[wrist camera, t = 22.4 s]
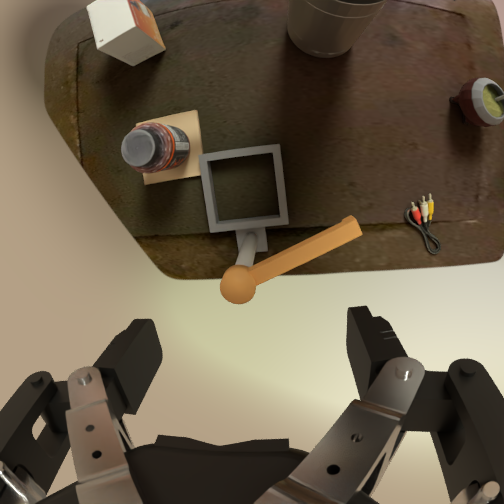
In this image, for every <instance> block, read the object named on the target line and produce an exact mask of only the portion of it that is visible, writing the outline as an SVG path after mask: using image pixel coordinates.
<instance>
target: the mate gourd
mask: <svg viewBox="0 0 504 504" xmlns="http://www.w3.org/2000/svg"><path fill="white" fill-rule="evenodd" d="M450 102H452V103H455V104H458V105H460V108H461V110H462V111H463V123H464V124H468V123H470V124H472V125H476V126H483V127H488V126H494V125H497V124H499V123H500V122H501V121H502V120H503V119H504V92H503V90H502V89H501V88H500V87H499V86H498V85H497V84H496V83H495V82H494V81H492V80H490V79H487V78H472V79H471V80H469V81H468V82H467V83H465V84H464V85H463V87H462V88H461V90H460V93H459V95H457V96H456V97H455V98H454V97H450Z"/></svg>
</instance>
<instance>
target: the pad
mask: <svg viewBox="0 0 504 504" xmlns="http://www.w3.org/2000/svg"><path fill="white" fill-rule="evenodd" d="M147 122H154V123H160V124H165V125H170V126H174V127H177V128H179V129H181V130H183V131H184V132H185V133H186V135H187V136H188V138H189V141H190V152H189V155H188V157H187V159H186V160H185V161H184V162H183V163H182V164H181V165H180V166H178V167H176V168H173V169H169V170H164V171H160V172H156V173H143V176H144V182H145V185H147V184H152V183H158V182H163V181H169V180H175V179H180V178H186V177H193V176H199V175H201V171H200V164H199V157H198V155H201V154H203V147H202V140H201V133H200V125H199V118H198V110H193V111H188V112H183V113H179V114H174V115H170V116H165V117H161V118H157V119H153V120H149V121H145V122H141V123H137V124H136V126H138V125H140V124H143V123H147Z"/></svg>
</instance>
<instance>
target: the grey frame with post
mask: <svg viewBox="0 0 504 504" xmlns="http://www.w3.org/2000/svg"><path fill="white" fill-rule="evenodd" d="M272 152H273V159H274V167H275V175H276V183H277V192H278V200H279V209H280V215H271V216H261V217H252V218H243V219H234V220H226V221H219V218H218V212H217V205H216V199H215V192H214V185H213V178H212V172H211V165H210V161H212V160H218V159H225V158H232V157H240V156H247V155H255V154H263V153H272ZM198 157H199V164H200V171H201V177H202V184H203V190H204V197H205V203H206V209H207V216H208V222H209V228H210V233H212V232H221V231H230V230H236V237H237V243H238V250H239V255H238V258H237V261H236V264H235V265H238V264H240V265H245V266H247V267H251V266H253V261H254V256H255V252H263V251H268V246H267V238H266V230H265V227H267V226H277V225H287V224H289V221H288V211H287V202H286V193H285V184H284V175H283V167H282V159H281V151H280V144H274V145H265V146H256V147H249V148H241V149H234V150H227V151H220V152H214V153H207V154H201V155H198Z"/></svg>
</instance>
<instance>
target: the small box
mask: <svg viewBox="0 0 504 504" xmlns="http://www.w3.org/2000/svg"><path fill="white" fill-rule="evenodd" d="M87 10H88V14H89V17H90V21H91V25H92V29H93V33H94V37H95V41H96V46H97V49H98V50H100V51H102V52H104V53H106V54H109V55H111V56H113V57H115V58H117V59H119V60H121V61H123V62H125V63H127V64H129V65H131V66H135V65H137V64H139V63H140V62H142V61H144V60H146V59H148V58H150V57H152V56H154V55H156V54H158V53H160V52H162V51H164V50H166V48H165V46H164V44H163V41H162V39H161V36H160V33H159V31H158V28H157V25H156V22H155V19H154V16H153V13H152V12H151V11H150V10H149V9H148V8H147V7H146V6H145V5H144V4H143V3H142V2H141V1H140V0H96V1H95V2H93V3H91V4H90V5H88V6H87Z"/></svg>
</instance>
